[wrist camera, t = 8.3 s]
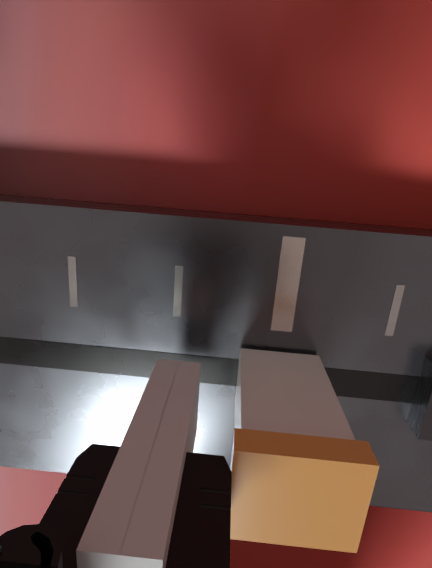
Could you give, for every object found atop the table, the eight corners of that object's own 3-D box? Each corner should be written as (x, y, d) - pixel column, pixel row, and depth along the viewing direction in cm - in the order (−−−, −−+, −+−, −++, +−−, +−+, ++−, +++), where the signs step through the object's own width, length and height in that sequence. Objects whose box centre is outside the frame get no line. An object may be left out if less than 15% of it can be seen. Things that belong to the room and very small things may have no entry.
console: (-112, 421, 19) (-174, 466, 16) (-169, 180, 15) (-263, 183, 12) (439, 478, 18) (477, 537, 15) (518, 236, 14) (588, 253, 11)
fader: (229, 405, 15) (224, 538, 9) (235, 342, 14) (233, 450, 9) (313, 413, 15) (356, 553, 9) (325, 351, 14) (379, 465, 8)
